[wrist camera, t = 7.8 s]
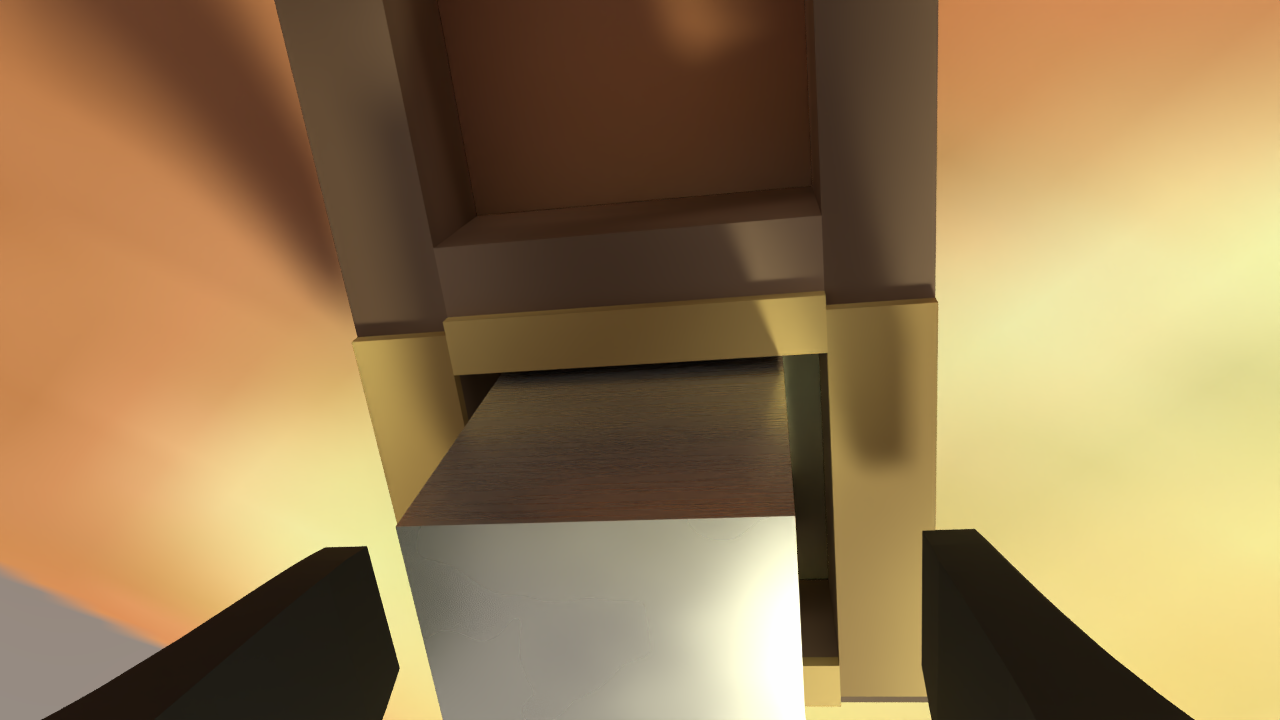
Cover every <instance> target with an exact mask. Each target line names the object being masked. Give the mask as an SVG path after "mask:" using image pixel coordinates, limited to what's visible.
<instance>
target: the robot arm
mask: <svg viewBox="0 0 1280 720" xmlns="http://www.w3.org/2000/svg"><path fill="white" fill-rule="evenodd" d="M921 666H922V671H923V677H924V682H925V687H926V693H927V698H928V703H929V709H930V714H931V719H932V720H1194V719H1193V718H1191V717H1190V716H1189V715H1187V714H1186V713H1185V712H1183V711H1182V710H1180V709H1179V708H1178V707H1176V706H1175V705H1174V704H1172V703H1171V702H1170V701H1168V700H1167V699H1165V698H1164V697H1163V696H1162V695H1160V694H1159V693H1158V692H1156V691H1155V690H1154V689H1153V688H1151V687H1150V686H1149V685H1147V684H1146V683H1145V682H1144V681H1142V680H1141V679H1140V678H1139V677H1137V676H1136V675H1135V674H1134V673H1132V672H1131V671H1130V670H1129V669H1127V668H1126V667H1125V666H1123V665H1122V664H1121V663H1120V662H1118V661H1117V660H1116V659H1115V658H1113V657H1112V656H1111V655H1110V654H1109V653H1107V652H1106V651H1105V650H1104V649H1103V648H1102V647H1100V646H1099V645H1098V644H1097V643H1096V642H1095V641H1094V640H1092V639H1091V638H1090V637H1089V636H1088V635H1087V634H1086V633H1085V632H1083V631H1082V630H1081V629H1080V628H1079V627H1078V626H1077V625H1076V624H1074V623H1073V622H1072V621H1071V620H1070V619H1069V618H1068V617H1067V616H1065V615H1064V614H1063V613H1062V612H1061V611H1060V610H1059V609H1058V608H1057V607H1056V606H1054V605H1053V604H1052V603H1051V602H1050V601H1049V600H1048V599H1047V598H1046V597H1045V596H1044V595H1043V594H1042V593H1041V592H1039V591H1038V590H1037V589H1036V588H1035V587H1034V586H1033V585H1032V584H1031V583H1030V582H1029V581H1028V580H1027V579H1026V578H1025V577H1024V576H1023V575H1022V574H1021V573H1020V572H1019V571H1018V570H1017V569H1016V568H1015V567H1014V566H1013V565H1012V564H1011V563H1010V562H1009V561H1008V560H1006V559H1005V558H1004V557H1003V556H1002V555H1001V554H1000V553H999V552H998V551H997V550H996V549H995V548H994V547H993V546H992V545H991V544H990V543H989V542H988V541H987V540H986V539H985V538H984V537H983V536H982V535H981V534H980V533H979V532H977V531H976V530H975V529H960V530H925V531H922V661H921ZM399 669H400V668H399V664H398V660H397V657H396V653H395V649H394V645H393V642H392V638H391V634H390V630H389V627H388V623H387V619H386V616H385V612H384V608H383V604H382V601H381V597H380V593H379V589H378V586H377V582H376V578H375V575H374V571H373V567H372V563H371V560H370V556H369V552H368V548H367V546H362V547H327V548H323V549H321V550H319V551H318V552H316V553H314V554H312V555H310V556H308V557H306V558H305V559H303V560H301V561H300V562H298V563H296V564H295V565H293V566H291V567H290V568H288V569H287V570H285V571H283V572H282V573H280V574H279V575H277V576H275V577H274V578H272V579H271V580H269V581H268V582H266V583H265V584H263V585H261V586H260V587H258V588H257V589H255V590H254V591H252V592H251V593H249V594H248V595H246V596H245V597H243V598H242V599H240V600H238V601H237V602H235V603H234V604H232V605H231V606H229V607H228V608H226V609H225V610H223V611H222V612H220V613H219V614H217V615H215V616H214V617H212V618H211V619H209V620H208V621H206V622H205V623H203V624H202V625H200V626H199V627H197V628H195V629H194V630H192V631H191V632H189V633H188V634H186V635H185V636H183V637H182V638H180V639H178V640H177V641H175V642H173V643H172V644H170V645H169V646H167V647H165V648H164V649H162V650H160V651H159V652H157V653H155V654H154V655H152V656H151V657H149V658H147V659H146V660H144V661H143V662H141V663H139V664H137V665H136V666H134V667H133V668H131V669H129V670H128V671H126V672H124V673H123V674H121V675H120V676H118V677H116V678H115V679H113V680H111V681H110V682H108V683H106V684H105V685H103V686H101V687H100V688H98V689H96V690H94V691H93V692H91V693H89V694H87V695H86V696H84V697H82V698H80V699H79V700H77V701H75V702H73V703H71V704H70V705H68V706H66V707H64V708H63V709H61V710H59V711H57V712H55V713H53V714H51V715H49V716H48V717H46V718H44V719H42V720H382V719H383V716H384V713H385V711H386V708H387V705H388V702H389V699H390V696H391V693H392V690H393V687H394V684H395V681H396V678H397V675H398V672H399Z"/></svg>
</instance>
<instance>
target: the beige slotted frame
mask: <svg viewBox="0 0 1280 720" xmlns="http://www.w3.org/2000/svg"><path fill="white" fill-rule="evenodd" d="M274 1H275V5H276V9H277V13H278V17H279V21H280V25H281V29H282V33H283V37H284V41H285V45H286V49H287V53H288V58H289V62H290V66H291V70H292V74H293V78H294V82H295V86H296V90H297V94H298V98H299V102H300V106H301V110H302V114H303V118H304V122H305V126H306V130H307V134H308V138H309V142H310V146H311V150H312V155H313V159H314V163H315V167H316V171H317V175H318V179H319V183H320V187H321V191H322V195H323V199H324V203H325V207H326V211H327V215H328V219H329V223H330V227H331V231H332V235H333V239H334V243H335V248H336V252H337V256H338V260H339V264H340V268H341V272H342V276H343V280H344V284H345V288H346V292H347V296H348V300H349V304H350V308H351V312H352V316H353V320H354V324H355V328H356V332H357V336H358V337H357V338H356V339H355V340H354V341H353V342H352V345H353V349H354V353H355V357H356V361H357V365H358V369H359V373H360V377H361V381H362V385H363V389H364V393H365V397H366V401H367V405H368V409H369V413H370V417H371V421H372V425H373V429H374V433H375V437H376V441H377V445H378V449H379V453H380V457H381V461H382V465H383V469H384V473H385V477H386V481H387V485H388V489H389V493H390V497H391V501H392V505H393V509H394V513H395V517H396V521H397V524H398V522H399V521H400V520H401V518H402V517H403V515H404V514H405V512H406V511H407V509H408V508H409V507H410V505H411V504H412V502H413V501H414V499H415V498H416V496H417V495H418V494H419V492H420V491H421V489H422V488H423V486H424V485H425V483H426V482H427V481H428V479H429V478H430V476H431V475H432V473H433V472H434V470H435V469H436V468H437V466H438V465H439V463H440V462H441V460H442V459H443V458H444V456H445V455H446V453H447V452H448V450H449V449H450V447H451V446H452V445H453V443H454V442H455V440H456V439H457V437H458V436H459V434H460V433H461V432H462V430H463V429H464V427H465V426H466V424H467V423H468V421H469V420H470V419H471V417H472V416H473V414H474V413H475V411H476V410H477V408H478V407H479V406H480V404H481V403H482V401H483V400H484V398H485V397H486V395H487V394H488V393H489V391H490V390H491V388H492V387H493V385H494V384H495V382H496V381H497V380H498V378H499V377H500V375H501V374H502V372H518V371H535V370H551V369H568V368H585V367H601V366H618V365H634V364H651V363H668V362H684V361H701V360H717V359H734V358H751V357H767V356H784V355H801V354H817V353H819V366H820V390H821V414H822V439H823V463H824V487H825V511H826V535H827V559H828V579H822V580H798V583H799V604H800V624H801V644H802V665H803V685H804V705H805V706H841V702H928V698H927V693H926V687H925V682H924V677H923V671H922V666H921V661H922V531H925V530H935V525H936V441H937V357H938V301H937V300H936V298H935V263H936V168H937V73H938V0H804V5H805V29H806V53H807V77H808V101H809V125H810V149H811V174H812V186H805V187H794V188H783V189H772V190H761V191H750V192H739V193H727V194H716V195H705V196H694V197H683V198H672V199H661V200H650V201H638V202H627V203H616V204H605V205H594V206H583V207H572V208H561V209H549V210H538V211H527V212H516V213H505V214H494V215H483V216H477V215H476V210H475V204H474V199H473V193H472V188H471V182H470V177H469V172H468V166H467V161H466V155H465V150H464V144H463V139H462V134H461V128H460V123H459V117H458V112H457V106H456V101H455V96H454V90H453V85H452V79H451V74H450V68H449V63H448V58H447V52H446V47H445V41H444V36H443V30H442V25H441V20H440V14H439V9H438V3H437V0H274Z"/></svg>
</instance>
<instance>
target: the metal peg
mask: <svg viewBox="0 0 1280 720" xmlns="http://www.w3.org/2000/svg"><path fill="white" fill-rule="evenodd" d="M396 530H397V534H398V539H399V543H400V547H401V551H402V555H403V559H404V563H405V567H406V571H407V575H408V579H409V583H410V587H411V592H412V596H413V600H414V604H415V608H416V612H417V616H418V620H419V624H420V628H421V632H422V636H423V640H424V645H425V649H426V653H427V657H428V661H429V665H430V669H431V673H432V677H433V681H434V685H435V689H436V693H437V697H438V702H439V706H440V710H441V714H442V718H443V720H805V705H804V685H803V665H802V644H801V624H800V604H799V583H798V563H797V543H796V523H795V508H794V495H793V482H792V470H791V457H790V445H789V432H788V420H787V407H786V395H785V382H784V369H783V357H782V356H767V357H751V358H734V359H717V360H701V361H684V362H668V363H651V364H634V365H618V366H601V367H585V368H568V369H551V370H535V371H518V372H502V374H501V375H500V377H499V378H498V380H497V381H496V382H495V384H494V385H493V387H492V388H491V390H490V391H489V393H488V394H487V395H486V397H485V398H484V400H483V401H482V403H481V404H480V406H479V407H478V408H477V410H476V411H475V413H474V414H473V416H472V417H471V419H470V420H469V421H468V423H467V424H466V426H465V427H464V429H463V430H462V432H461V433H460V434H459V436H458V437H457V439H456V440H455V442H454V443H453V445H452V446H451V447H450V449H449V450H448V452H447V453H446V455H445V456H444V458H443V459H442V460H441V462H440V463H439V465H438V466H437V468H436V469H435V470H434V472H433V473H432V475H431V476H430V478H429V479H428V481H427V482H426V483H425V485H424V486H423V488H422V489H421V491H420V492H419V494H418V495H417V496H416V498H415V499H414V501H413V502H412V504H411V505H410V507H409V508H408V509H407V511H406V512H405V514H404V515H403V517H402V518H401V520H400V521H399V522H398V524H397V525H396Z"/></svg>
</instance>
